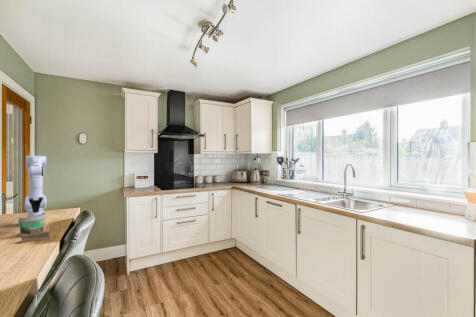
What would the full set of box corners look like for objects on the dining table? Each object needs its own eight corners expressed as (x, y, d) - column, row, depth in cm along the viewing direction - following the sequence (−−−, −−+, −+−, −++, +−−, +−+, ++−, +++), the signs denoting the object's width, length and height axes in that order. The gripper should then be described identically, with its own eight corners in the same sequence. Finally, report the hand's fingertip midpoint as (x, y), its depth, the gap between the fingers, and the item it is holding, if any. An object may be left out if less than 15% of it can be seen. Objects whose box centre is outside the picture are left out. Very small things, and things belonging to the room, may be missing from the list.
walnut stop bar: (21, 241, 108) (21, 235, 108) (48, 236, 115) (48, 230, 115) (21, 243, 106) (21, 236, 106) (48, 238, 113) (48, 232, 113)
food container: (26, 238, 112) (27, 218, 112) (17, 237, 113) (17, 218, 113) (51, 231, 124) (52, 213, 124) (43, 230, 125) (43, 212, 125)
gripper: (26, 187, 128) (26, 211, 127) (25, 189, 117) (25, 215, 117) (42, 186, 132) (42, 209, 132) (43, 188, 122) (43, 213, 121)
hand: (35, 211), depth 125 cm, fingers open, 4 cm apart
